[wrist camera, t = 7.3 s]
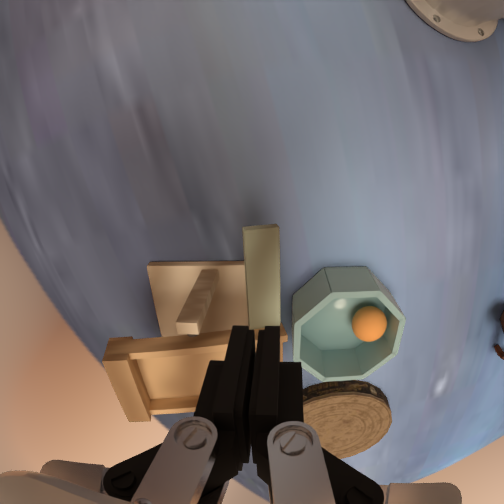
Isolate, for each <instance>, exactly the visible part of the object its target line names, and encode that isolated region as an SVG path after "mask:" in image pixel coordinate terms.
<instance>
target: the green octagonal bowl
mask: <svg viewBox="0 0 504 504" xmlns="http://www.w3.org/2000/svg"><path fill="white" fill-rule="evenodd" d="M366 306H374V307H377V308H379V309H380V310H382V311H383V313H384V314H385V316H386V320H387V327H386V330H385V332H384V334H383V335H382V336H381V337H380V338H379V339H377V340H375V341H371V342H366V341H362V340H360V339H359V338H357V337H356V335H355V334H354V332H353V330H352V319H353V317H354V315H355V313H356V312H357V311H358V310H359V309H361V308H363V307H366ZM405 320H406V318H405V316H404V314H403V313H402V311H401V309H400V308H399V306H398V304H397V302H396V301H395V299H394V297H393V296H392V294H391V293H390V291H389V290H388V289H387V288H386V287H385V286H384V285H383V284H382V283H381V281H380V280H379V279H378V278H377V277H376V276H375V275H374V274H373V273H372V272H371V271H370V270H369V269H368V268H367V267H366V266H363V267H324V268H323V269H322V270H320V271H319V272H318V273H317V274H316V275H315V276H314V277H313V278H312V279H311V280H309V281H308V282H307V283H306V284H305V285H304V286H303V287H302V288H300V289H299V290H298V291H297V292H296V293H295V294H294V295H293V296H292V345H293V360H294V362H301V364H302V368H304V369H305V370H307V371H308V372H309V373H311V374H312V375H313V376H315V377H316V378H318V379H319V380H320V381H323V382H329V381H346V380H359V379H364V378H366V377H367V376H369V375H370V374H371V373H373V372H374V371H376V370H377V369H378V368H380V367H381V366H382V365H384V364H385V363H386V362H388V361H389V360H390V359H392V358H393V357H394V356H396V354H397V353H398V349H399V345H400V341H401V337H402V333H403V329H404V325H405Z"/></svg>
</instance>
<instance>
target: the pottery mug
mask: <svg viewBox="0 0 504 504" xmlns="http://www.w3.org/2000/svg"><path fill="white" fill-rule="evenodd" d="M500 321H501V325H502V329H503V332H504V311H503V313H502V315H501V317H500ZM494 348H495V351H496V352H497V355H498V356H499V357H500V358H501V359H503V360H504V352H503V351H502V349H501V347H500V346H499V345H496V346H494Z"/></svg>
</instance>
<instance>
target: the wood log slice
mask: <svg viewBox="0 0 504 504" xmlns="http://www.w3.org/2000/svg"><path fill="white" fill-rule="evenodd" d="M303 412H304V423H306V424H308V425H310V426H311V427H312V428H313V429H314V430H315V431H316V432H317V434H318V436H319V440H320V444H321V447H323V448H324V449H326V450H327V451H328V452H330V453H331V454H333V455H334V456H336V457H337V458H339V459H342V458H346V457H350V456H353V455H356V454H358V453H360V452H363V451H365V450H367V449H368V448H370V447H371V446H373V445H374V444H376V443H377V442H379V441H380V440H381V439H382V438H383V436H384V435H385V434H386V433H387V432H388V430H389V427H390V425H391V423H392V417H391V410H390V407H389V404H388V400H387V397H386V396H385V395H384V393H383V392H382V391H381V389H380V388H378V387H376V386H374V385H372V384H370V383H368V382H363V381H357V380H346V381H329V382H323V383H319V384H315V385H311V386H309V387H307V388H305V389H303Z"/></svg>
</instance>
